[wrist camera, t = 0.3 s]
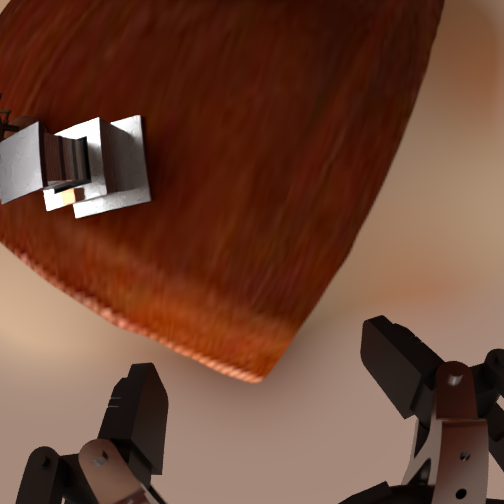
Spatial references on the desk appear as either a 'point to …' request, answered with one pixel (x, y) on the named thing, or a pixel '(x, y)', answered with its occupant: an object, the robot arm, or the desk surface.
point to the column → (41, 163)
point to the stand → (107, 168)
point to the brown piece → (15, 124)
